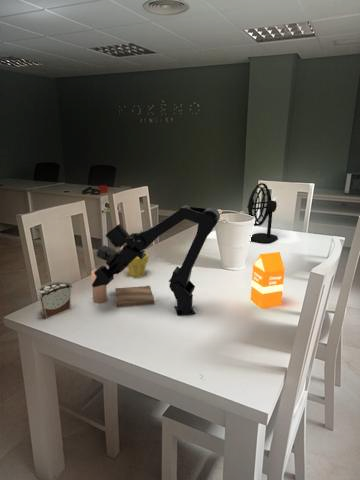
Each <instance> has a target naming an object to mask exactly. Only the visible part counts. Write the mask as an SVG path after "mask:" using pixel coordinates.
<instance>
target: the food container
mask: <svg viewBox="0 0 360 480" xmlns="http://www.w3.org/2000/svg"><path fill="white" fill-rule="evenodd" d="M72 285H73V284H72V283H71V282H70V281H64V280H61V281H53V282H52V281H51V282H48V283H44V284H43V285H41V286H39V289H38V291H37V297H38V299H39V300H40V304H41V307H42V312H43V316H44V318H45V319H46V320H48V319H50V318H52V317H55V316H57V315H59V314H62V313H65V312H67V311H69V310H71V291H72V290H71V289H72V288H73V286H72Z"/></svg>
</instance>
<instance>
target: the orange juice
mask: <svg viewBox="0 0 360 480" xmlns="http://www.w3.org/2000/svg"><path fill="white" fill-rule="evenodd" d="M251 275H252V276H251V284H250V285H251V290H250V301H251V300H252V301H253V302H254V303H253V302H252V301H251V302H252V303H253V304H254V305H255V306H259V308H260V309H261V308H263V309H267V308H266V307H268V308H272V307H271V306H274V307H277V306H276V305H280V306H282V298H283V290H284V280H285V266H284V262H283V259H282V256H281V252H280V251H276V252H267V253H260V254H259V256H258V257H257V258H256V260H255V262H254V263H253V265H252V273H251Z"/></svg>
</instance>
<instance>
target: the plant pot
mask: <svg viewBox="0 0 360 480" xmlns="http://www.w3.org/2000/svg"><path fill="white" fill-rule="evenodd" d="M148 262H149V254H148V252H146V251H145V257H144V258H143V259H140V258H139V257H138V256H137V257H136V258H135V259H134V260H133V261H132V262H131V263H130V264H129V265H128V266H127V267H126V268H127V271H128V274H129V277H131V278H141V277H143V276H144V275H145V273H146V272H145V271H146V267H147V263H148Z"/></svg>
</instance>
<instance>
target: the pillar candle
mask: <svg viewBox="0 0 360 480" xmlns="http://www.w3.org/2000/svg"><path fill="white" fill-rule="evenodd" d="M97 269H98V268H95V269H92V270H91V271H90V272H91V274H90V275H91V287H92V301H93V303H94V304H103V303H106V302H107V301H108V293H107V292H108V290H107V285H101V286H98V287H93V286H92V284H93V282H94V281H95V279H96V277H97V276H96V275H95V274H94V272H95V271H96V270H97Z"/></svg>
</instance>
